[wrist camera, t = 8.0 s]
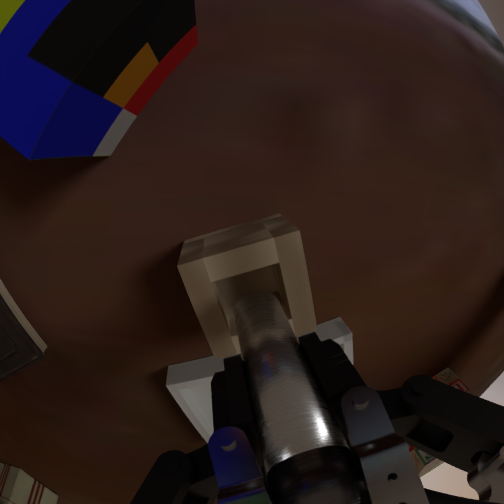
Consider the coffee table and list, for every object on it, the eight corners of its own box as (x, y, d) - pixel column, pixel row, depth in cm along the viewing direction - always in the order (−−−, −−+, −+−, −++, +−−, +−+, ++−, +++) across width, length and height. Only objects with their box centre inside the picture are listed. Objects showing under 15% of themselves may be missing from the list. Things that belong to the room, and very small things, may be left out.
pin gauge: (275, 285, 15) (387, 504, 3) (284, 323, 16) (374, 520, 4) (228, 298, 15) (275, 542, 3) (240, 336, 15) (291, 547, 4)
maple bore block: (278, 212, 20) (299, 230, 15) (296, 295, 22) (317, 329, 18) (184, 239, 20) (177, 265, 15) (213, 319, 22) (215, 359, 17)
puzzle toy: (110, 155, 17) (29, 160, 7) (29, 99, 14) (-55, 84, 4) (197, 44, 15) (191, -39, 6) (104, -1, 12) (58, -65, 3)
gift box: (7, 457, 28) (-9, 507, 12) (61, 495, 35) (53, 541, 19) (-13, 454, 29) (-27, 495, 12) (34, 489, 35) (25, 529, 19)
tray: (339, 316, 24) (351, 332, 21) (344, 395, 28) (353, 410, 25) (168, 365, 23) (165, 385, 20) (212, 433, 27) (213, 450, 25)
